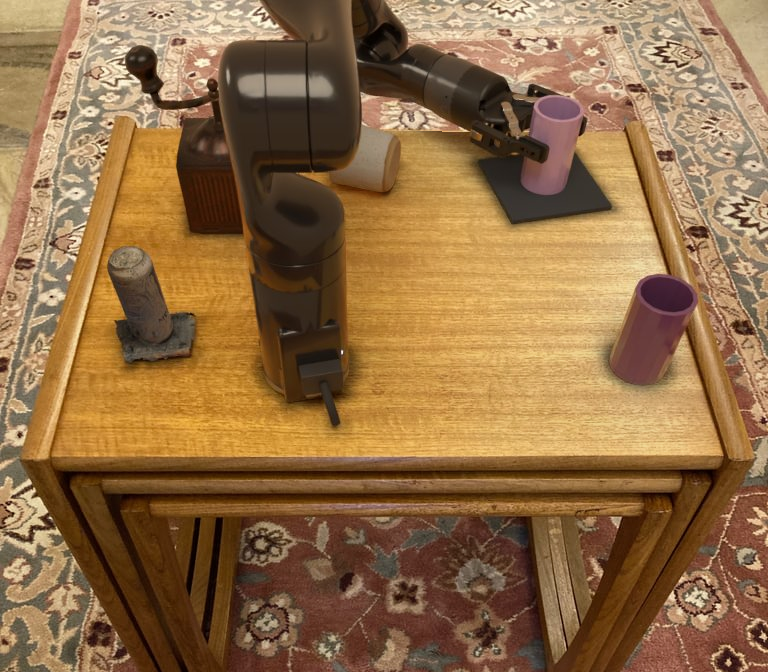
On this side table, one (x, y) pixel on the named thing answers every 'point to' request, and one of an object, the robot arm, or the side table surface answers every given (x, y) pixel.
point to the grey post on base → (146, 310)
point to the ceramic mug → (372, 162)
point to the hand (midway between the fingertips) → (566, 141)
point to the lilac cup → (553, 143)
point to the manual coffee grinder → (196, 153)
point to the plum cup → (652, 328)
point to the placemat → (531, 206)
